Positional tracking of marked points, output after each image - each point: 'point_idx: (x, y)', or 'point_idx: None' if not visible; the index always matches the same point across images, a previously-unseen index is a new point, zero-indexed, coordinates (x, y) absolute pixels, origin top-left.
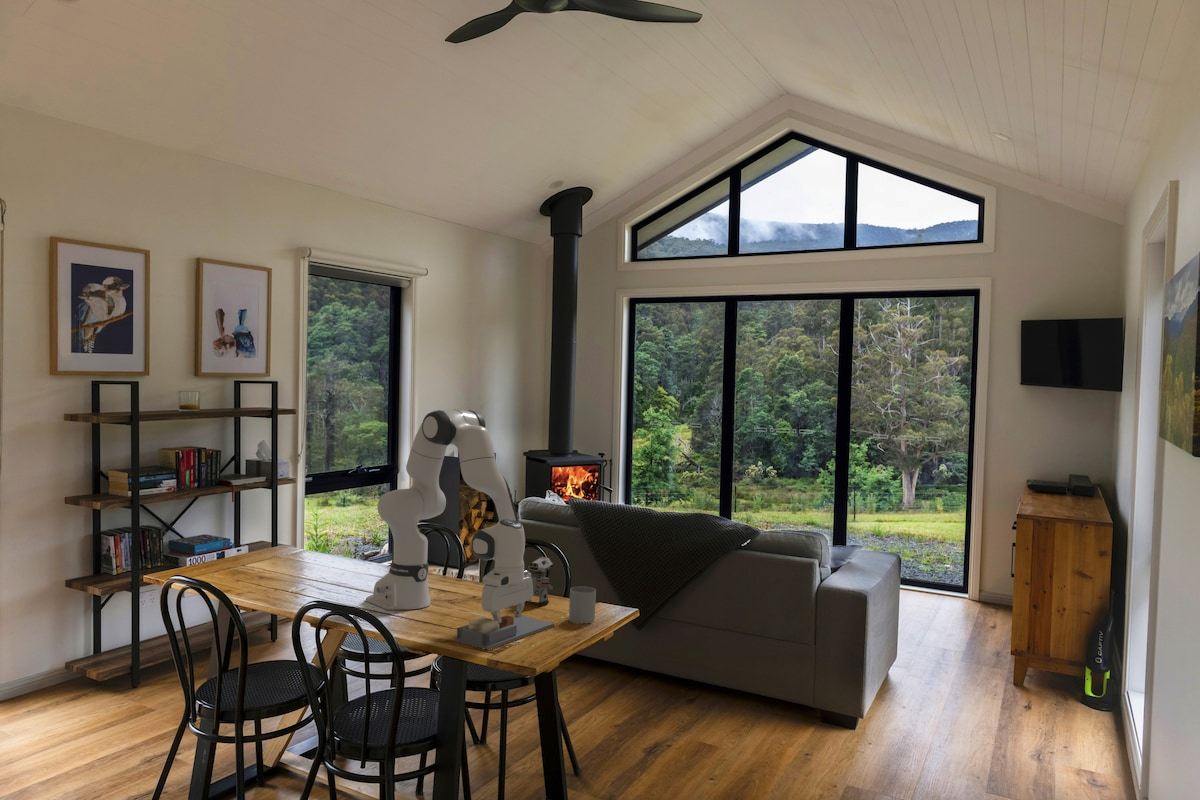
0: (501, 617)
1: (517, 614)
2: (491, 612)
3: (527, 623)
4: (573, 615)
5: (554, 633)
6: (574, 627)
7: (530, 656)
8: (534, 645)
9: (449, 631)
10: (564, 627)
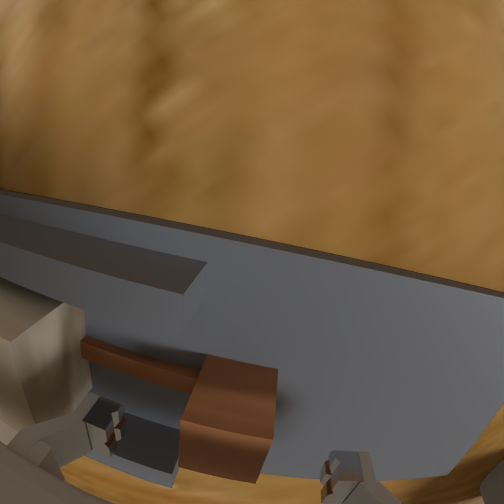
0: (182, 431)
1: (324, 484)
2: (21, 432)
3: (425, 415)
4: (501, 487)
5: None
6: (441, 496)
7: (85, 480)
8: (170, 488)
9: (88, 42)
10: (437, 485)
